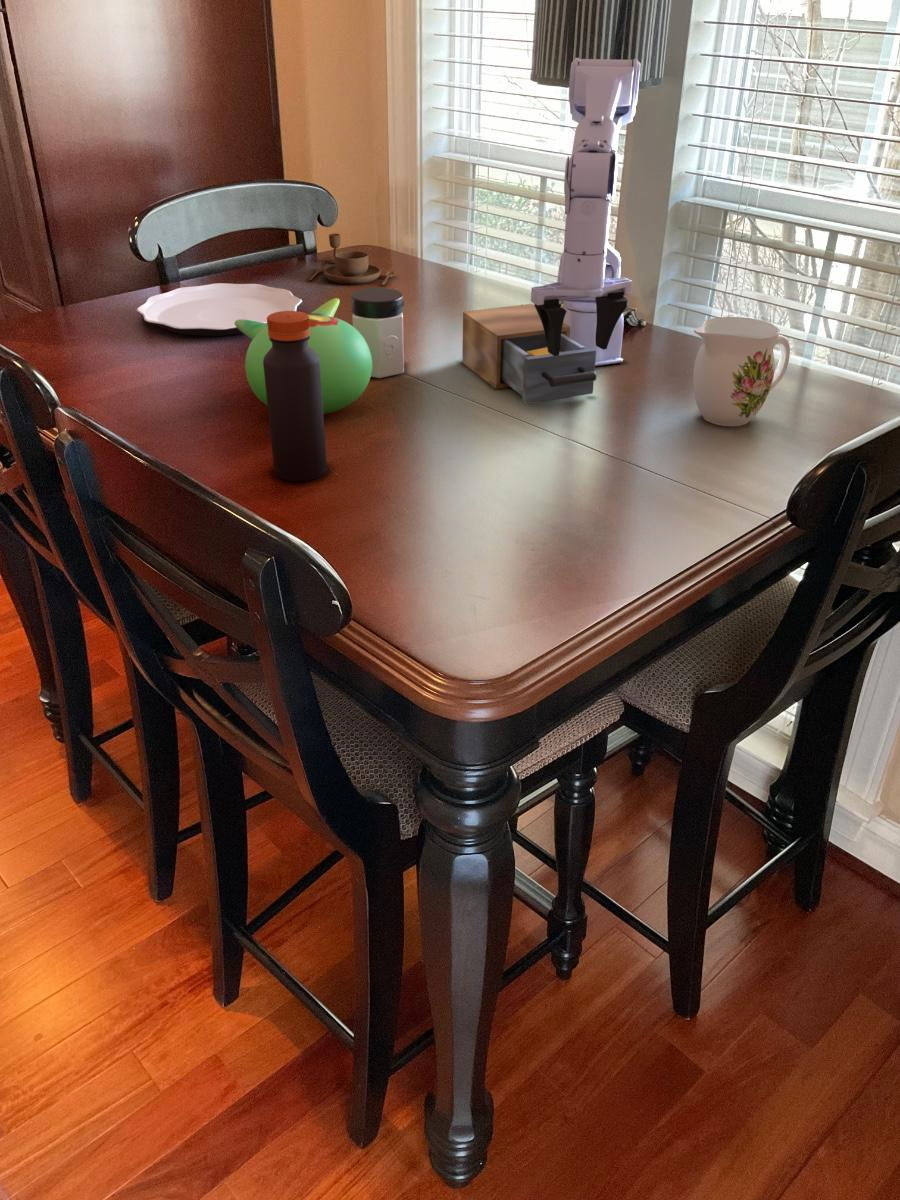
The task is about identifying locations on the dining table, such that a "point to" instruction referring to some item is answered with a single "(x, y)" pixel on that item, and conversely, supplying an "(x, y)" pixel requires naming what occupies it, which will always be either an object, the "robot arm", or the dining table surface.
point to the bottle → (294, 399)
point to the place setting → (350, 266)
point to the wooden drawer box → (497, 337)
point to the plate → (215, 307)
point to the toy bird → (337, 350)
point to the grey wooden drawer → (547, 368)
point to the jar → (381, 328)
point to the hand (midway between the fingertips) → (577, 350)
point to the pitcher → (736, 368)
